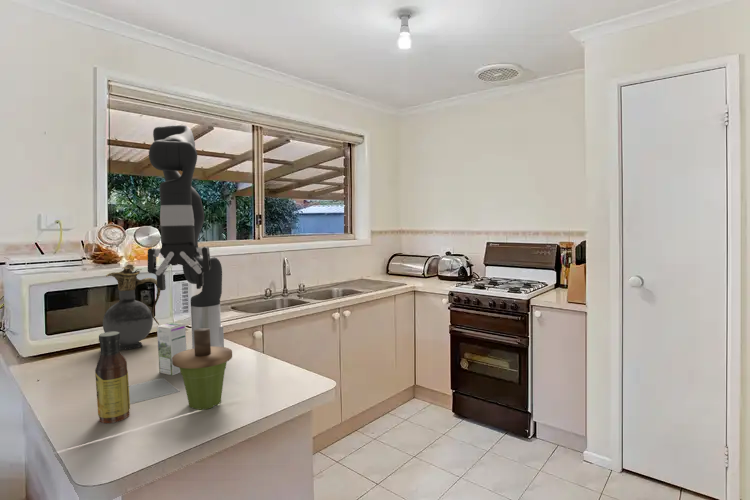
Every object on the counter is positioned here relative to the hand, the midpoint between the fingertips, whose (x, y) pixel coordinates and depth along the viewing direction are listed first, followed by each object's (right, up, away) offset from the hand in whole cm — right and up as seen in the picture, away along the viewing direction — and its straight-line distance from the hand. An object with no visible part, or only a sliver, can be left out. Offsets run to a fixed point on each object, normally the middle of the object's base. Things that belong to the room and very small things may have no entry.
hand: (181, 289), depth 108 cm
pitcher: (-40, -26, +50) cm, 69 cm away
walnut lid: (+7, -17, -3) cm, 18 cm away
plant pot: (+7, -28, -2) cm, 29 cm away
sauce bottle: (-11, -29, -10) cm, 32 cm away
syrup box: (-12, -27, +22) cm, 36 cm away
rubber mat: (-13, -28, +6) cm, 31 cm away
